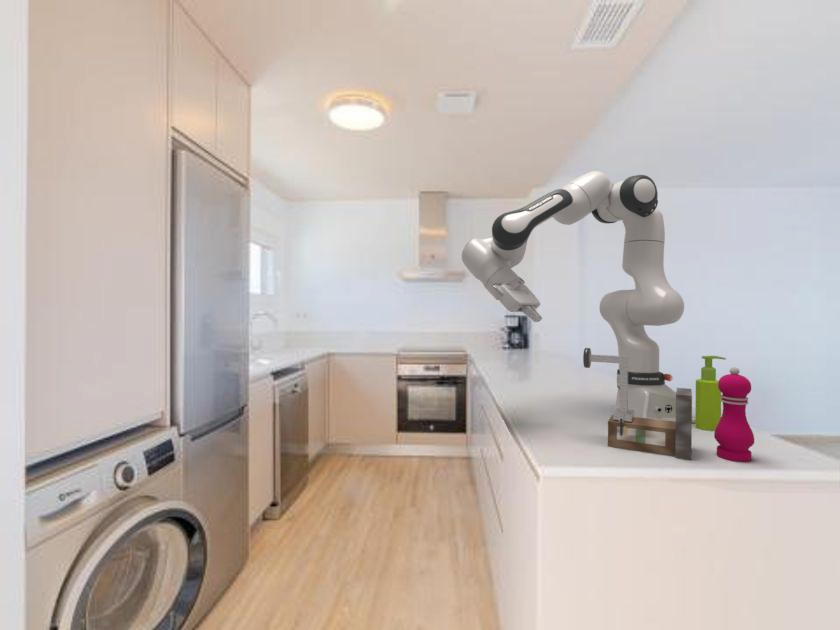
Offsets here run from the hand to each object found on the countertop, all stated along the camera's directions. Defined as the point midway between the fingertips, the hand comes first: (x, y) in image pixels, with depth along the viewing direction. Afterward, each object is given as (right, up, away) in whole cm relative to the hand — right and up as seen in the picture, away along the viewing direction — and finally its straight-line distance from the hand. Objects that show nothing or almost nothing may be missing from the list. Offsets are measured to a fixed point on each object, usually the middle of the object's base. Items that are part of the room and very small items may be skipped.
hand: (539, 320), depth 117 cm
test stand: (+22, -30, -13) cm, 40 cm away
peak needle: (+16, -26, -15) cm, 34 cm away
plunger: (+14, -27, -9) cm, 32 cm away
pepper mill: (+38, -30, -20) cm, 52 cm away
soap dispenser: (+48, -30, +4) cm, 57 cm away
